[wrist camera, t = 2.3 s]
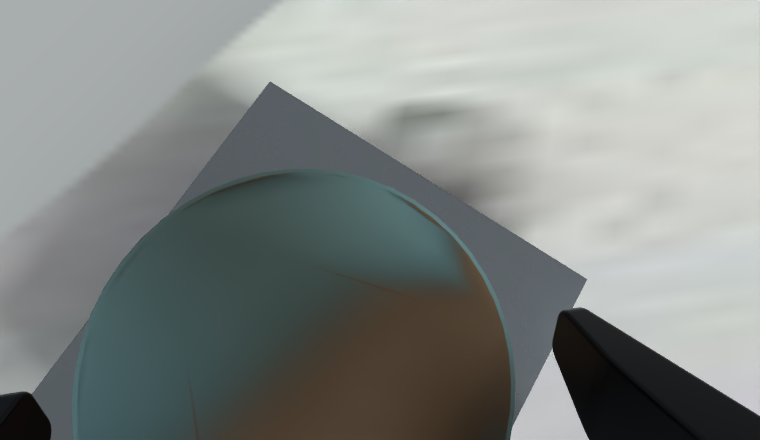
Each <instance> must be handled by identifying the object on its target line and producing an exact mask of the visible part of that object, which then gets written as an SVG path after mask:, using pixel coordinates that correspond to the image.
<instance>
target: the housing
mask: <svg viewBox="0 0 760 440" xmlns="http://www.w3.org/2000/svg"><path fill="white" fill-rule="evenodd" d="M284 169H323V170H331V171H339V172H345V173H349V174H353V175H357V176H361V177H365V178H368V179H371V180H373V181H376V182H378V183H381V184H384V185H386V186H389V187H391V188H393V189H395V190H397V191H399V192H401V193H403V194H404V195H406V196H408V197H410V198H412V199H414V200H415V201H417V202H418V203H419V204H421V205H422V206H424V207H425V208H426V209H428V210H429V211H431V212H432V213H433V214H435V215H436V216H437V217H438V218H439V219H440V220H441V221H442V222H444V223H445V224H446V225H447V226H448V227H449V228H450V229H451V230H452V231H453V232H454V233H455V234H456V235H457V236H458V237H459V238H460V240H461V241H462V242H463V243H464V244H465V246H466V247H467V248H468V249H469V250H470V252H471V253H472V254H473V256H474V257H475V259H476V260H477V262H478V263H479V265H480V267H481V268H482V270H483V271H484V273H485V274H486V276H487V278H488V280H489V282H490V284H491V286H492V288H493V290H494V292H495V294H496V296H497V298H498V301H499V304H500V307H501V309H502V312H503V315H504V318H505V321H506V324H507V328H508V332H509V337H510V342H511V347H512V351H513V359H514V371H515V409H514V417H513V424H514V422H515V420H516V418H517V416H518V414H519V412H520V410H521V408H522V406H523V404H524V403H525V401H526V399H527V397H528V395H529V393H530V391H531V389H532V387H533V385H534V383H535V381H536V379H537V377H538V375H539V373H540V371H541V369H542V367H543V365H544V363H545V361H546V359H547V357H548V355H549V353H550V351H551V349H552V340H553V336H554V331H555V327H556V322H557V318H558V315H559V313H560V312H561V311H562V310H566V309H572V308H573V306H574V304H575V302H576V300H577V298H578V296H579V294H580V292H581V290H582V288H583V286H584V284H585V282H586V280H587V279H586V278H584V277H583V276H581V275H579V274H578V273H576V272H575V271H573V270H571V269H570V268H568V267H567V266H565V265H563V264H562V263H560V262H559V261H557V260H555V259H554V258H552V257H551V256H549V255H547V254H546V253H544V252H543V251H541V250H539V249H538V248H536V247H535V246H533V245H531V244H530V243H528V242H527V241H525V240H523V239H522V238H520V237H518V236H517V235H515V234H514V233H512V232H510V231H509V230H507V229H506V228H504V227H502V226H501V225H499V224H498V223H496V222H494V221H493V220H491V219H490V218H488V217H486V216H485V215H483V214H482V213H480V212H478V211H477V210H475V209H474V208H472V207H470V206H469V205H467V204H466V203H464V202H462V201H461V200H459V199H458V198H456V197H454V196H453V195H451V194H450V193H448V192H446V191H445V190H443V189H442V188H440V187H438V186H437V185H435V184H434V183H432V182H430V181H429V180H427V179H426V178H424V177H422V176H421V175H419V174H417V173H416V172H414V171H413V170H411V169H409V168H408V167H406V166H405V165H403V164H401V163H400V162H398V161H397V160H395V159H393V158H392V157H390V156H389V155H387V154H385V153H384V152H382V151H381V150H379V149H377V148H376V147H374V146H373V145H371V144H369V143H368V142H366V141H365V140H363V139H361V138H360V137H358V136H357V135H355V134H353V133H352V132H350V131H349V130H347V129H345V128H344V127H342V126H341V125H339V124H337V123H336V122H334V121H333V120H331V119H329V118H328V117H326V116H324V115H323V114H321V113H320V112H318V111H316V110H315V109H313V108H312V107H310V106H308V105H307V104H305V103H304V102H302V101H300V100H299V99H297V98H296V97H294V96H292V95H291V94H289V93H288V92H286V91H284V90H283V89H281V88H280V87H278V86H276V85H275V84H273V83H272V82H269V84H268V85H267V86H266V87H265V89H264V90H263V91H262V93H261V94H260V95H259V97H258V98H257V99H256V101H255V102H254V103H253V105H252V106H251V107H250V108H249V110H248V111H247V112H246V114H245V115H244V116H243V118H242V119H241V120H240V122H239V123H238V124H237V126H236V127H235V128H234V129H233V131H232V132H231V133H230V135H229V136H228V137H227V139H226V140H225V141H224V143H223V144H222V145H221V147H220V148H219V149H218V151H217V152H216V153H215V154H214V156H213V157H212V158H211V160H210V161H209V162H208V164H207V165H206V166H205V168H204V169H203V170H202V172H201V173H200V174H199V175H198V177H197V178H196V179H195V181H194V182H193V183H192V185H191V186H190V187H189V189H188V190H187V191H186V193H185V194H184V195H183V196H182V198H181V199H180V200H179V202H178V203H177V204H176V206H175V207H174V208H173V210H172V211H171V212H170V214H171V213H172V212H173V211H175V210H176V209H178V208H179V207H181V206H182V205H183V204H185V203H186V202H188V201H190V200H192V199H194V198H195V197H197V196H199V195H201V194H203V193H205V192H207V191H208V190H210V189H212V188H215V187H218V186H220V185H223V184H225V183H228V182H230V181H233V180H235V179H239V178H243V177H246V176H250V175H254V174H258V173H262V172H269V171H277V170H284ZM88 322H89V320H88V321H87V323H86V324H85V325H84V327H83V328H82V329H81V330H80V332H79V333H78V334H77V336H76V337H75V338H74V340H73V341H72V342H71V344H70V345H69V346H68V348H67V349H66V350H65V351H64V353H63V354H62V355H61V357H60V358H59V359H58V361H57V362H56V363H55V365H54V366H53V367H52V369H51V370H50V371H49V372H48V374H47V375H46V376H45V378H44V379H43V380H42V382H41V383H40V384H39V386H38V387H37V388H36V390H35V391H34V392H33V393H32V396H33V397H34V398H35V400H36V401H37V403H38V404H39V406H40V407H41V409H42V410H43V411H44V413H45V414H46V416H47V417H48V419H49V421H50V424H51V429H52V431H51V439H50V440H74V438H73V424H72V394H73V383H74V372H75V368H76V363H77V359H78V354H79V350H80V345H81V341H82V338H83V336H84V333H85V330H86V327H87V324H88ZM513 424H512V426H513Z"/></svg>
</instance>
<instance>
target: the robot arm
mask: <svg viewBox="0 0 760 440" xmlns="http://www.w3.org/2000/svg"><path fill="white" fill-rule="evenodd" d="M552 347H553V352H554V355H555V358H556V360H557V363H558V365H559V368H560V370H561V373H562V375H563V378H564V381H565V383H566V386H567V388H568V391H569V393H570V396H571V398H572V401H573V403H574V406H575V408H576V411H577V413H578V416H579V418H580V421H581V423H582V425H583V428H584V430H585V432H586V434H587V436H588V438H589V440H760V416H759V415H757V414H756V413H754V412H752V411H751V410H749V409H748V408H746V407H744V406H743V405H741V404H739V403H738V402H736V401H735V400H733V399H731V398H730V397H728V396H727V395H725V394H723V393H722V392H720V391H718V390H717V389H715V388H714V387H712V386H710V385H709V384H707V383H705V382H704V381H702V380H701V379H699V378H697V377H696V376H694V375H692V374H691V373H689V372H688V371H686V370H684V369H683V368H681V367H679V366H678V365H676V364H675V363H673V362H671V361H670V360H668V359H666V358H665V357H663V356H662V355H660V354H658V353H657V352H655V351H653V350H652V349H650V348H649V347H647V346H645V345H644V344H642V343H641V342H639V341H637V340H636V339H634V338H632V337H631V336H629V335H628V334H626V333H624V332H623V331H621V330H619V329H618V328H616V327H615V326H613V325H611V324H610V323H608V322H606V321H605V320H603V319H602V318H600V317H598V316H597V315H595V314H593V313H592V312H590V311H589V310H587V309H585V308H572V309H566V310H562V311H561V312H560V313H559V315H558V318H557V322H556V327H555V331H554V336H553V340H552ZM51 431H52V429H51V424H50V421H49V419H48V417H47V416H46V414H45V413H44V411H43V410H42V409H41V407H40V406H39V404H38V403H37V401H36V400H35V398H34V397H33V396H32V394H30V393H28V392H16V393H10V394H3V395H0V440H50V439H51Z"/></svg>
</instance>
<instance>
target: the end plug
mask: <svg viewBox="0 0 760 440" xmlns="http://www.w3.org/2000/svg"><path fill="white" fill-rule="evenodd" d="M514 409H515V371H514V359H513V351H512V347H511V342H510V337H509V332H508V328H507V324H506V321H505V318H504V315H503V312H502V309H501V307H500V304H499V301H498V298H497V296H496V294H495V292H494V290H493V288H492V286H491V284H490V282H489V280H488V278H487V276H486V274H485V273H484V271H483V270H482V268H481V267H480V265H479V263H478V262H477V260H476V259H475V257H474V256H473V254H472V253H471V252H470V250H469V249H468V248H467V247H466V246H465V244H464V243H463V242H462V241H461V240H460V238H459V237H458V236H457V235H456V234H455V233H454V232H453V231H452V230H451V229H450V228H449V227H448V226H447V225H446V224H445V223H444V222H442V221H441V220H440V219H439V218H438V217H437V216H436V215H435V214H433V213H432V212H431V211H429V210H428V209H426V208H425V207H424V206H422V205H421V204H419V203H418V202H417V201H415V200H414V199H412V198H410V197H408V196H406V195H404V194H403V193H401V192H399V191H397V190H395V189H393V188H391V187H389V186H386V185H384V184H381V183H378V182H376V181H373V180H371V179H368V178H365V177H361V176H357V175H353V174H349V173H345V172H339V171H331V170H323V169H284V170H277V171H269V172H262V173H258V174H254V175H250V176H246V177H243V178H239V179H235V180H233V181H230V182H228V183H225V184H223V185H220V186H218V187H215V188H212V189H210V190H208V191H207V192H205V193H203V194H201V195H199V196H197V197H195V198H194V199H192V200H190V201H188V202H186V203H185V204H183V205H182V206H181V207H179V208H178V209H176V210H175V211H173V212H172V213H171V214H169V215H168V216H166V217H165V218H164V219H162V220H161V221H160V222H159V223H158V224H157V225H156V226H155V227H154V228H152V229H151V230H150V231H149V232H148V233H147V234H146V235H145V236H144V237H142V238H141V240H140V241H139V242H138V243H137V244H136V245H135V247H134V248H133V249H132V250H131V251H130V252H129V253H128V255H127V256H126V257H125V258H124V259H123V260H122V262H121V263H120V265H119V266H118V268H117V269H116V271H115V272H114V274H113V275H112V277H111V278H110V280H109V281H108V283H107V284H106V286H105V288H104V290H103V291H102V293H101V295H100V297H99V299H98V301H97V303H96V305H95V307H94V309H93V311H92V313H91V316H90V319H89V322H88V324H87V327H86V330H85V333H84V336H83V338H82V341H81V345H80V350H79V354H78V359H77V363H76V368H75V372H74V383H73V394H72V424H73V438H74V440H510V436H511V430H512V424H513V417H514Z"/></svg>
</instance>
